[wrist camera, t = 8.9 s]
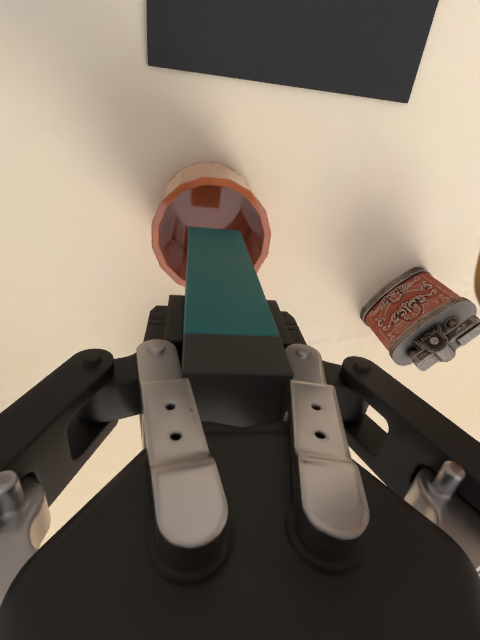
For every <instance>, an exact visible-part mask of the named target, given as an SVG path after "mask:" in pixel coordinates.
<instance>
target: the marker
mask: <svg viewBox="0 0 480 640" xmlns="http://www.w3.org/2000/svg"><path fill="white" fill-rule="evenodd" d="M293 376H294V373H293V370H292V367H291V365H290V362H289V359H288V357H287V354H286V351H285V349H284V346H283V343H282V341H281V338H280V335H279V332H278V330H277V327H276V324H275V322H274V319H273V316H272V314H271V311H270V308H269V306H268V303H267V301H266V298H265V295H264V293H263V290H262V287H261V285H260V282H259V279H258V277H257V274H256V271H255V269H254V266H253V263H252V261H251V258H250V255H249V253H248V250H247V248H246V245H245V242H244V240H243V237H242V234H241V232H240V231H239V230H227V229H215V228H203V227H189V229H188V249H187V269H186V289H185V309H184V330H183V350H182V370H181V378H188V379H189V382H190V385H191V389H192V392H193V396H194V399H195V403H196V406H197V410H198V414H199V417H200V421H211V422H216V423H221V424H226V425H231V426H236V427H248V426H252V425H257V424H261V423H266V422H270V421H279V419H280V415H281V411H282V407H283V400H284V395H285V391H286V386H287V383H288V381H289V379H290V380H293Z"/></svg>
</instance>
